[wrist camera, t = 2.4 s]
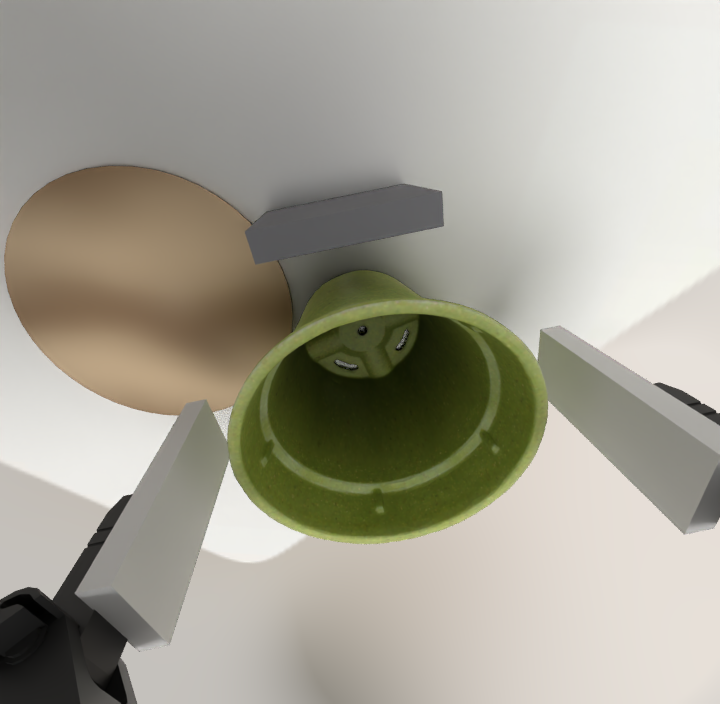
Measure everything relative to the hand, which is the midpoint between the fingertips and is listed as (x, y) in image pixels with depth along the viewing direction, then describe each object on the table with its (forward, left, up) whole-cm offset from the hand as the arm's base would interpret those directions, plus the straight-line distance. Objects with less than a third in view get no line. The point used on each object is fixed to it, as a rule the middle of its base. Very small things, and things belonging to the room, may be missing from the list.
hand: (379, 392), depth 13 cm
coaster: (-3, -9, -5) cm, 11 cm away
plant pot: (0, 0, -5) cm, 5 cm away
